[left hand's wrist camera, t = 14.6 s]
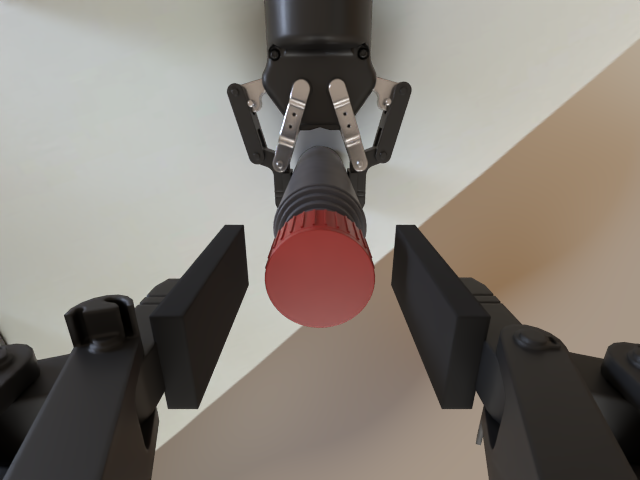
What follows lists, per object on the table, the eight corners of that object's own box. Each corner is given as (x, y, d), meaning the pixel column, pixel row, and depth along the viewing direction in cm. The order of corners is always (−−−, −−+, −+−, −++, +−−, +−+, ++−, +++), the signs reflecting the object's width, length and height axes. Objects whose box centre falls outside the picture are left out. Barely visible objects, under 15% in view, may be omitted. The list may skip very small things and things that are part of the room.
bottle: (335, 198, 35) (359, 341, 14) (291, 185, 35) (243, 311, 13) (349, 154, 34) (403, 234, 12) (303, 139, 33) (273, 196, 11)
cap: (348, 193, 13) (354, 210, 11) (380, 277, 15) (391, 308, 12) (256, 228, 14) (243, 252, 12) (295, 307, 15) (290, 342, 13)
